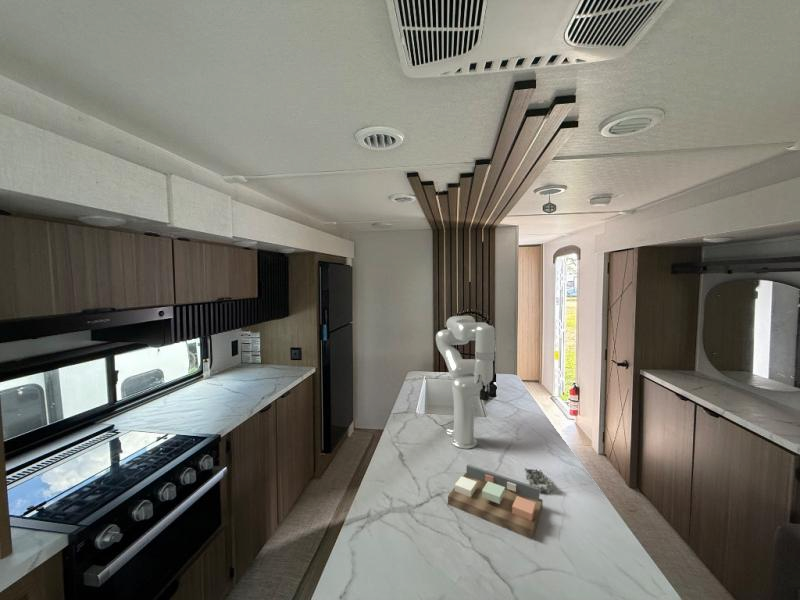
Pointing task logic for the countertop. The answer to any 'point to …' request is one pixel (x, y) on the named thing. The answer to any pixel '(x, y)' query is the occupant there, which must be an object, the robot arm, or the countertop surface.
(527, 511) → the key terracotta
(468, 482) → the key cream
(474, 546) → the countertop surface
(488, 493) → the key sage
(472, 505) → the keypad
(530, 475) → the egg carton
